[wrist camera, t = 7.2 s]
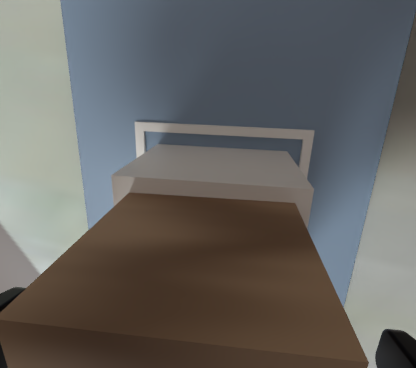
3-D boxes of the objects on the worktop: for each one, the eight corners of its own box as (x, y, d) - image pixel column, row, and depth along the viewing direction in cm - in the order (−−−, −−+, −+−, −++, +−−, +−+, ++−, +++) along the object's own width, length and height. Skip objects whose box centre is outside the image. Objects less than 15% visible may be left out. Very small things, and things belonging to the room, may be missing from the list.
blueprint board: (404, 4, 11) (422, -6, 10) (326, 343, 17) (332, 361, 16) (73, 2, 12) (56, -6, 11) (108, 316, 18) (99, 331, 17)
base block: (287, 151, 13) (314, 189, 8) (272, 263, 15) (287, 347, 10) (157, 144, 13) (111, 175, 8) (160, 253, 15) (124, 327, 10)
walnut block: (295, 202, 8) (367, 362, 3) (277, 334, 10) (310, 565, 5) (128, 192, 9) (-7, 318, 4) (139, 319, 10) (51, 516, 6)
